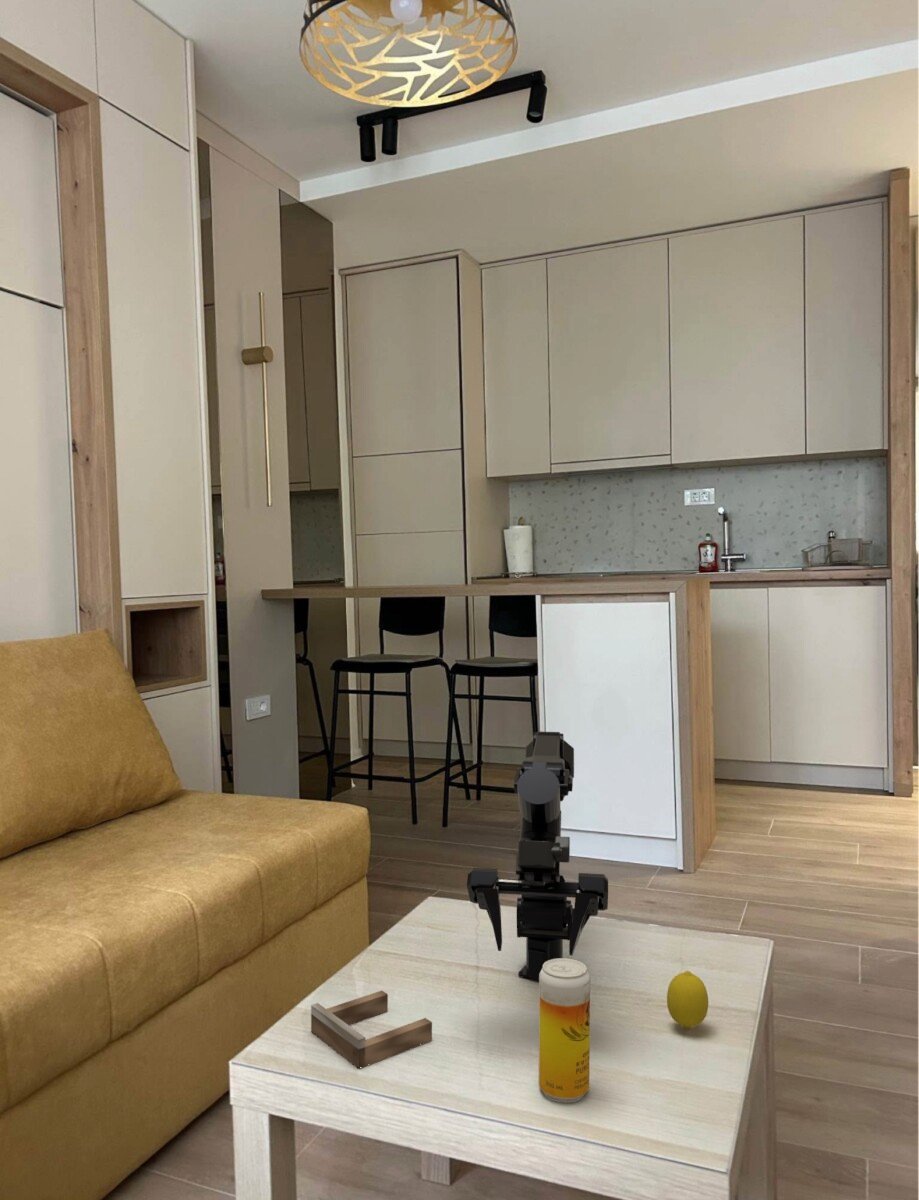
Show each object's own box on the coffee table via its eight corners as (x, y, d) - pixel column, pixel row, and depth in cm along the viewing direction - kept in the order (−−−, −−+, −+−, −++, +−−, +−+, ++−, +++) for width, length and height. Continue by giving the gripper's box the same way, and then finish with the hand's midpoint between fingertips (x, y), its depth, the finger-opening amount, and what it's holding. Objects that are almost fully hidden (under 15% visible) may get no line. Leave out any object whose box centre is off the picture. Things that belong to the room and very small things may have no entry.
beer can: (587, 1108, 105) (588, 980, 105) (535, 1101, 107) (536, 975, 106) (590, 1080, 111) (591, 959, 111) (541, 1074, 113) (542, 954, 112)
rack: (381, 1007, 130) (381, 982, 130) (431, 1040, 121) (432, 1013, 121) (311, 1032, 123) (311, 1005, 123) (358, 1069, 114) (358, 1039, 114)
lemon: (661, 1020, 127) (661, 963, 127) (699, 1019, 127) (700, 962, 127) (674, 1040, 121) (674, 981, 121) (714, 1038, 122) (714, 979, 122)
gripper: (468, 809, 122) (456, 922, 112) (608, 815, 120) (609, 931, 109) (476, 848, 131) (465, 956, 120) (607, 854, 128) (607, 965, 118)
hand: (534, 952), depth 117 cm, fingers open, 9 cm apart
